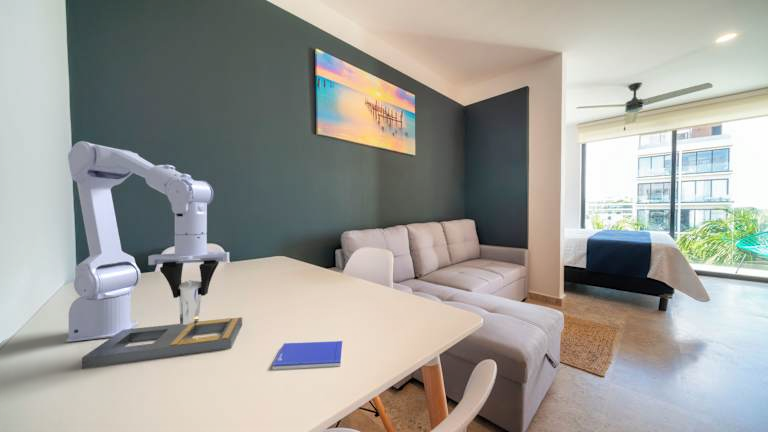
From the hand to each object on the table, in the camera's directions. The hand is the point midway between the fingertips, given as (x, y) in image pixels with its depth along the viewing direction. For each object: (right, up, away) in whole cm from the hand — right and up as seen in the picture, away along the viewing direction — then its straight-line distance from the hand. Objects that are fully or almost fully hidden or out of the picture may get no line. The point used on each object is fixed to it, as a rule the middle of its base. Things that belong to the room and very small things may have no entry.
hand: (191, 295), depth 58 cm
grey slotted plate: (-3, -10, -1) cm, 11 cm away
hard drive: (+28, -12, -5) cm, 31 cm away
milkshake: (0, -6, 0) cm, 6 cm away
